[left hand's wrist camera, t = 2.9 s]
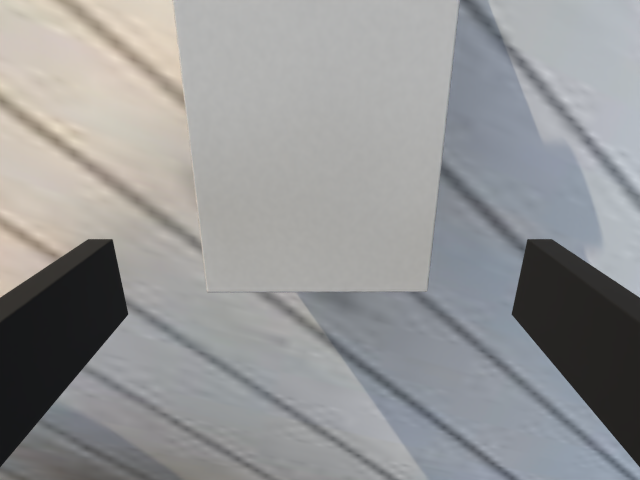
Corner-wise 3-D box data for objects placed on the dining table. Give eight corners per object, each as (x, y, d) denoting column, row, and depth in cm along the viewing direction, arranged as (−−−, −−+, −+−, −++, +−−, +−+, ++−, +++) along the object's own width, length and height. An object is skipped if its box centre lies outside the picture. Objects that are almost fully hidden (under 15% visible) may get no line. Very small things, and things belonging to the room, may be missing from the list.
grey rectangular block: (219, -140, 21) (131, -344, 11) (414, -140, 21) (499, -342, 11) (245, 222, 28) (206, 293, 18) (389, 221, 28) (427, 292, 19)
